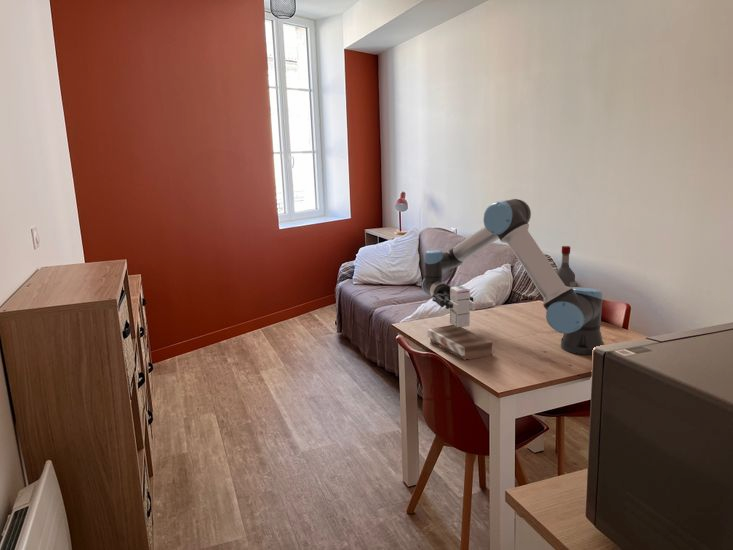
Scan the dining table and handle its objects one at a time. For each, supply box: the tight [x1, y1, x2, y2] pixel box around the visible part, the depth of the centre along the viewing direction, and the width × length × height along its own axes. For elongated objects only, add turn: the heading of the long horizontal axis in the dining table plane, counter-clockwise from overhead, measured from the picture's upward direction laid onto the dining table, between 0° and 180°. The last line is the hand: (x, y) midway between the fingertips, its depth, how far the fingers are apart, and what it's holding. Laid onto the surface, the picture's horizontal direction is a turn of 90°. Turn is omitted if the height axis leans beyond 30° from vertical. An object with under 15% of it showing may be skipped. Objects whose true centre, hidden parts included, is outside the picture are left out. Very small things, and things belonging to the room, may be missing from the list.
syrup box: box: [449, 285, 471, 328], centre depth 201 cm, size 6×6×14 cm
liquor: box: [555, 245, 576, 287], centre depth 247 cm, size 9×9×30 cm
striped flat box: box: [427, 324, 493, 361], centre depth 204 cm, size 24×14×5 cm, turn 24°
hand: (465, 307), depth 196 cm, fingers closed on syrup box, 6 cm apart
